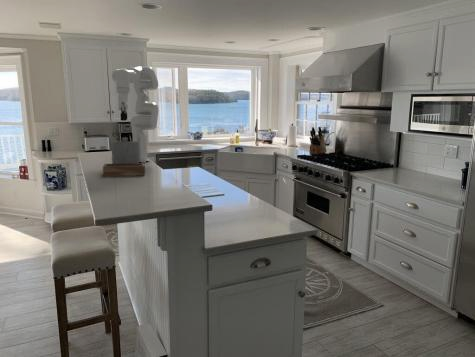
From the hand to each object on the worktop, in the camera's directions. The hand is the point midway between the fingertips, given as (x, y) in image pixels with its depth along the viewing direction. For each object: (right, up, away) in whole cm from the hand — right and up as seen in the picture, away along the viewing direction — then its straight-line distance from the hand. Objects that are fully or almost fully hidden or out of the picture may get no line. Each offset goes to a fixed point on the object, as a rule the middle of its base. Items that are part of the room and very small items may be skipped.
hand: (124, 120), depth 225 cm
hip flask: (-1, -30, +7) cm, 31 cm away
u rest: (+2, -33, -5) cm, 33 cm away
